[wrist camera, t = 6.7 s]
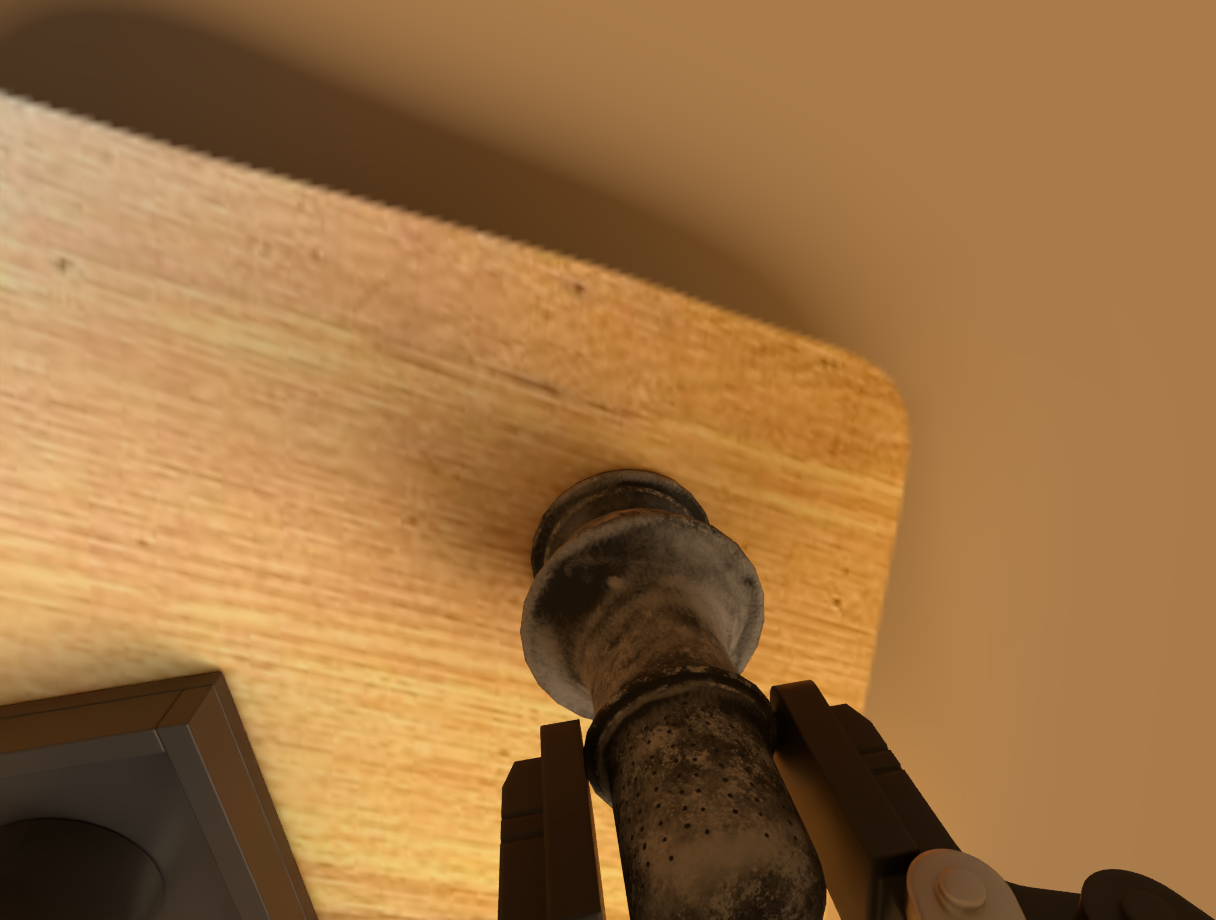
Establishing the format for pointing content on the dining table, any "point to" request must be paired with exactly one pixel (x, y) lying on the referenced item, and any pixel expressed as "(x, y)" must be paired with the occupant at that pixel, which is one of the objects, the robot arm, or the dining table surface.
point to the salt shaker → (669, 699)
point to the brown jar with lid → (75, 873)
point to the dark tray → (159, 791)
